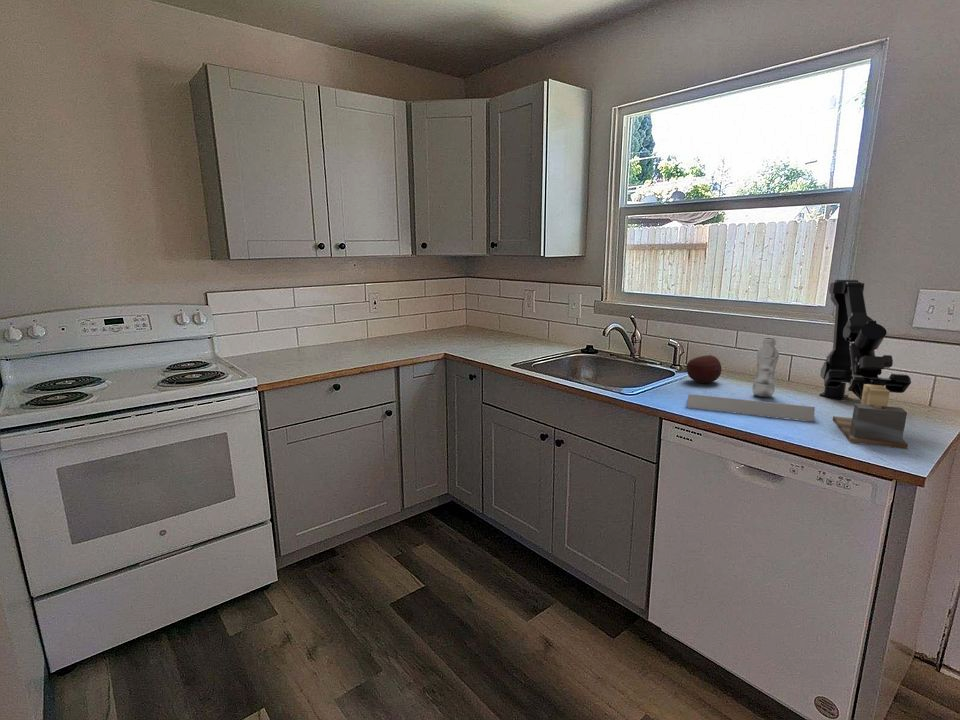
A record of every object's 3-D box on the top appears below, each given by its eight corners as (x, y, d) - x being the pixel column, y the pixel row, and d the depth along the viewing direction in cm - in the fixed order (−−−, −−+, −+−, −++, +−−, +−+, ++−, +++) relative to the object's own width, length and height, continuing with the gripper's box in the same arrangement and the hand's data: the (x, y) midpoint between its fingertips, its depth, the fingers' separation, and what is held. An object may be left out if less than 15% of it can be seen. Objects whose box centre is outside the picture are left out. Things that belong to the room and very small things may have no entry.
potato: (678, 380, 193) (680, 354, 191) (707, 377, 196) (709, 351, 194) (698, 388, 182) (700, 360, 180) (728, 385, 186) (731, 357, 184)
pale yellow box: (857, 425, 139) (863, 384, 137) (874, 427, 138) (882, 385, 135) (865, 435, 132) (872, 391, 130) (884, 437, 131) (891, 392, 128)
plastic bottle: (748, 393, 175) (755, 336, 171) (770, 394, 174) (777, 337, 170) (754, 398, 169) (761, 340, 165) (776, 399, 168) (784, 340, 163)
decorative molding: (688, 408, 170) (687, 409, 161) (689, 394, 170) (688, 394, 161) (807, 421, 156) (813, 423, 146) (808, 406, 156) (814, 407, 147)
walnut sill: (832, 420, 148) (837, 389, 146) (882, 425, 143) (888, 394, 141) (850, 442, 131) (855, 408, 129) (907, 448, 127) (913, 414, 125)
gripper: (832, 341, 142) (836, 389, 135) (914, 346, 135) (924, 396, 128) (822, 363, 151) (825, 409, 143) (899, 368, 144) (907, 416, 136)
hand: (868, 407), depth 137 cm, fingers closed, pressing on pale yellow box
